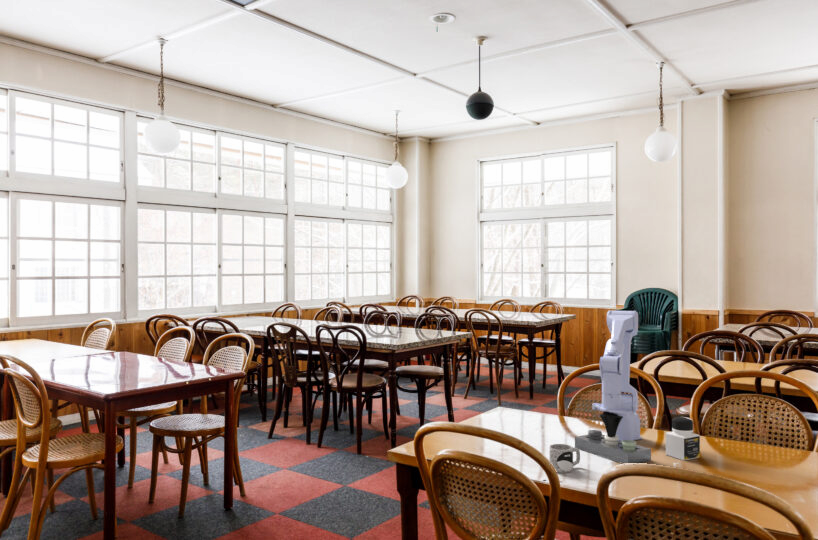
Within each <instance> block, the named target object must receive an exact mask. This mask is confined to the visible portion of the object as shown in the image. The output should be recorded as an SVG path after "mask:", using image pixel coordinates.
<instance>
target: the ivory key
mask: <svg viewBox="0 0 818 540" xmlns="http://www.w3.org/2000/svg"><path fill="white" fill-rule="evenodd" d="M604 435H605V441H606V444H609V445H617V444H618V441H619V437H618V436H616V435H615V437H608V435H607V434H604Z"/></svg>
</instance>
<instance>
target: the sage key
mask: <svg viewBox="0 0 818 540" xmlns="http://www.w3.org/2000/svg"><path fill="white" fill-rule="evenodd" d="M636 445H637V441H636V440H622V446H623V449H625V450H628V451H633V450H635V447H636Z"/></svg>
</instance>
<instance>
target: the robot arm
mask: <svg viewBox="0 0 818 540" xmlns="http://www.w3.org/2000/svg"><path fill="white" fill-rule="evenodd" d="M606 325H607V328H608V330H609V333H610V334H611V335H610V338H609V339H608V340H607V341H606V343H605V348H604V352H603V355H602V356H600V358H599V371H600V379H601V403H597V402H593V403H592V405H591V409H592V411H593V410H594V411H598V412H599V411H600V412H602V413H600V414H599V417H600V418H601V421H602V422H603V424H604V427H605V430H606V435H608V437H615V435H616V436H618V437H619V440H633V441H636V440H641V439H643V437H642V436H641V419H640V416H639V414H638V413H637V412H638V410H639V409H638V408H639V397H638V390H637V388H635V387H634V386H632V385H631V384H630V379H631V378H630V375H631V348H632V347H631V344H632V339H633V337H635V336H637V335H638V332H639V313H638V312H637V310H611V309H609V310H608V311H607V312H606Z"/></svg>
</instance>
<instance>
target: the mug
mask: <svg viewBox="0 0 818 540" xmlns="http://www.w3.org/2000/svg"><path fill="white" fill-rule="evenodd" d="M574 452H576V453H575V455H576V458H575V460H574ZM580 460H581V452H580V449H578V448H575V447H574V446H572V445H570V444H565V443H552V444H550V445H549V463H550V462H551V463H552V464H553V466H554V468H555V469H556V471H557V473H556V474H569V473H570V474H571V473H572V472H574V467H575V466H576V465H579V464H580Z"/></svg>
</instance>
